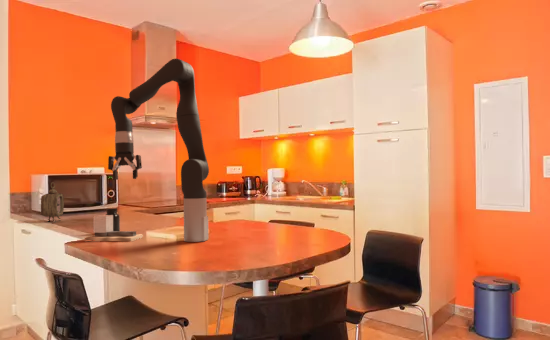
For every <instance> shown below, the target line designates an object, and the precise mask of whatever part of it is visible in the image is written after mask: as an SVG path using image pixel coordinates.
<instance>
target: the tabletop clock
mask: <svg viewBox="0 0 550 340" xmlns="http://www.w3.org/2000/svg"><path fill="white" fill-rule="evenodd" d="M52 185H54V186H52ZM50 188H51V189H49V191H48V193H45V194H43V195H42V196H41V197H40V214H41V216H43V217H45V218H46V217H48V219H47V220H50V221H51V218H52V222H53V221H54V220H55V217H57V219H61V220H62V218H61V216H63V214H64V211H65V210H64V207H65V202H64V194H63V193H61V192H60V193H59V192H58V191H57V189H55V188H56V184H55V182H54V181H52V182H50Z"/></svg>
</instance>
